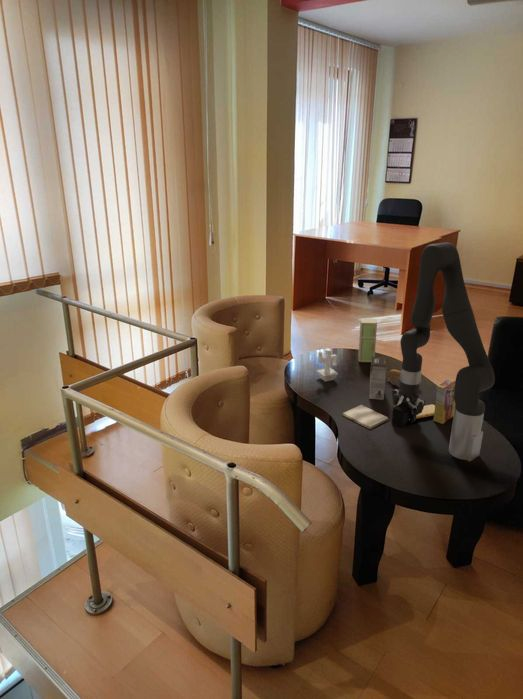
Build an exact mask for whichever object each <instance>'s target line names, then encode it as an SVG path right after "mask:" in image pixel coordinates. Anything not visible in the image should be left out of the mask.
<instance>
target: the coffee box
mask: <svg viewBox="0 0 523 699" xmlns="http://www.w3.org/2000/svg"><path fill="white" fill-rule="evenodd" d="M387 359H388V358H387V357H384V356H383V357H382V356H380V357H379V356H375V357H372V361H371V362H370V363H371V364H370V373H369V374H370V375H369V390H368V391H369V394H368V398H369V399H370V400H380V401H381V400H382V401H384V400H385V391H386V381H387V380H386V378H387V370H388V369H387V366H388V362H387V361H388V360H387Z"/></svg>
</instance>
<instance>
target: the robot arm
mask: <svg viewBox="0 0 523 699" xmlns="http://www.w3.org/2000/svg"><path fill="white" fill-rule="evenodd" d="M438 272H440V273H441V275H442V279H443V283H444V293H443V299H442V305H441V306H442V307H441V308H442V309H441V312H442V316H443V320H444V324H445V327H446V329H447V331H448V333H449V335H451V337H452V338H453V339H454V340H455V342H456V343H457V344H459V346H460V347H461V348H462V350H463V352H464V354H465V356H466V358H467V362H468V366H465V367H462V368H460V369H459V370H458V372H457V373H456V376H455V380H454V381H455V391H454V400H455V407H454V416H453V417H452V424H451V432H450V438H449V443H448V444H449V445H448V452H449V454H450V455H451V456H452V457H454V458H456V459H459V460H463V461H468V462H472V461H473V460H475V459H476V458H477V457H479V456H480V453H481V446H482V441H483V435H484V431H483V430H482V426H483V423H484V422H483V421H484V415H485V410H486V404H485V402H484V401H482V400H481V399H480V393H481V392H484V391H487V390H489V389H491V388H493V386H494V385H495V381H496V380H495V379H496V377H495V376H496V375H495V371H494V368H493V366H492V364H491V362H490V359H489V357H488V354H487V352H486V349H485V347H484V344H483V341H482V337H481V335H480V332H479V328H478V324H477V321H476V318H475V315H474V310H473V307H472V305H471V301H470V298H469V293H468V291H467V287H466V283H465V280H464V275H463V268H462V265H461V258H460V255H459V251H458V249H457V247H456V245H454V244H453V243H451V242H447V241H446V242H439V243H431V244H428V245H427V246H425V247H424V248H423V250H422V253H421V255H420V262H419V272H418V280H417V287H416V288H417V290H416V296H415V300H414V304H413V307H412V312H411V314H410V315H411V316H410V323H411V324H412V325H413V326H414V327H413V329H411V330H408V331H405V332H404V333H403V334H402V336H401V337H400V350H401V355H402V363H401V370H400V371H401V374H400V379H399V386H398V388H395V389H393V390H391V394H392V395H391V396H392V404H393V406H395V407H396V406H397V405H399V404H400V405H401V404H403V403H406V404H407V405H409V409H410V410H411V416H410V423H414V422H416V420H417V416H418V415H420V414H422V413H423V409H424V406H425V404H426V400H425V399H423V400H422V399H420V397H419V394H420V389H421V383H422V382H421V380H422V365H423V356H422V355H421V354H420V353H419V352H418V349H419V348H421V347H424V346H426V345H427V343H428V342H429V340H430V337H431V321H432V319H433V316H434V311H435V307H436V298H435V293H434V292H435V291H434V284H435V280H436V277H437V275H438ZM416 402H417V403H416ZM417 406H418V407H417Z"/></svg>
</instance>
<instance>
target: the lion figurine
mask: <svg viewBox="0 0 523 699" xmlns="http://www.w3.org/2000/svg"><path fill="white" fill-rule="evenodd" d="M400 374H401V370H398V369H390V370H389V371H388V372H387V374H386V381H387V382H390V383H391V385H393V386H396V383H395V382H394V380H395V378H397V379H398V380H400Z"/></svg>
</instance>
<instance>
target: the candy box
mask: <svg viewBox="0 0 523 699" xmlns="http://www.w3.org/2000/svg"><path fill="white" fill-rule="evenodd" d="M455 381H456V380H453V379H449V378H448V379H446V380H444V381H442V382H441V383H440V384H438V385H437V386H436V394H435V401H434V402H435V403H434V413H433V421H434V422H436V423H439V424H441V425H444V424H445V423H446V422H447V421H449V420H450V419H453V417H454V411H455V400H454V391H455Z"/></svg>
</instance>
